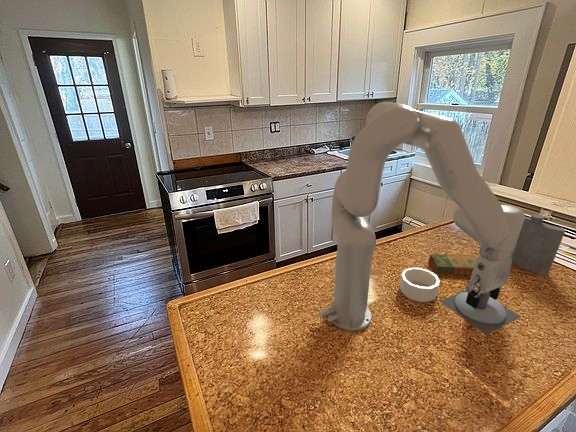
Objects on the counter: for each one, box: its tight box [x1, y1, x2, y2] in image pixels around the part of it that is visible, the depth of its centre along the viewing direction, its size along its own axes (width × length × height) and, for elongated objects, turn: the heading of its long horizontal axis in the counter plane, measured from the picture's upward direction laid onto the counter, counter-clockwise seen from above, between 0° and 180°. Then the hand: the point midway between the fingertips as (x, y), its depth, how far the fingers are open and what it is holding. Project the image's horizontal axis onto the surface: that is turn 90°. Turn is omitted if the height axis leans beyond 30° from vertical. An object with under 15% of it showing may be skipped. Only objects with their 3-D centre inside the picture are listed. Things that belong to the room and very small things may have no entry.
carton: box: [428, 254, 478, 276], centre depth 109 cm, size 8×16×4 cm, turn 83°
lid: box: [455, 288, 506, 324], centre depth 89 cm, size 13×13×6 cm
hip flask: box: [511, 213, 566, 277], centre depth 107 cm, size 16×4×20 cm, turn 29°
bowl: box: [399, 267, 441, 303], centre depth 97 cm, size 11×11×6 cm
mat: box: [440, 287, 522, 335], centre depth 90 cm, size 15×15×1 cm
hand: (481, 301), depth 89 cm, fingers open, 8 cm apart
